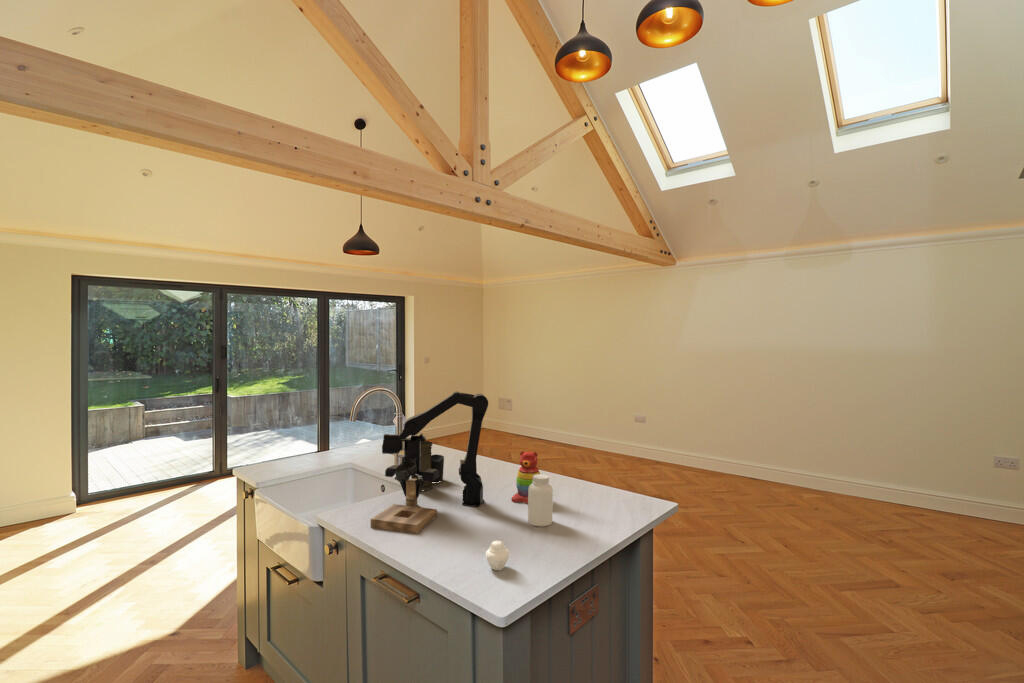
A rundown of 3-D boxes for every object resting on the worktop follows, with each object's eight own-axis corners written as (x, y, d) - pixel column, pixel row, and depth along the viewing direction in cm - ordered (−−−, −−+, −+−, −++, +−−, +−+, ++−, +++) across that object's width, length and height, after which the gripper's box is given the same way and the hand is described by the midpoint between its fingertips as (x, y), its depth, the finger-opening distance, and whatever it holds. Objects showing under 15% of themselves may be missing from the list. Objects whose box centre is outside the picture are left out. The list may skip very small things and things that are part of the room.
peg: (419, 504, 165) (419, 479, 165) (414, 508, 161) (414, 482, 161) (409, 503, 166) (409, 478, 166) (403, 506, 162) (403, 481, 163)
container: (427, 492, 178) (428, 445, 179) (406, 490, 180) (406, 444, 180) (436, 485, 187) (436, 441, 187) (415, 483, 189) (415, 439, 189)
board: (436, 516, 154) (436, 509, 154) (416, 533, 140) (416, 525, 140) (393, 511, 158) (394, 504, 158) (370, 526, 145) (370, 518, 145)
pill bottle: (554, 519, 152) (555, 474, 152) (548, 528, 145) (549, 481, 145) (531, 516, 155) (532, 471, 155) (524, 525, 147) (525, 478, 147)
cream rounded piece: (493, 576, 115) (494, 548, 115) (480, 566, 120) (481, 539, 120) (513, 569, 119) (514, 542, 119) (500, 560, 124) (500, 533, 124)
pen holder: (441, 484, 189) (442, 460, 189) (418, 484, 189) (419, 459, 189) (445, 477, 198) (445, 454, 198) (423, 477, 198) (423, 454, 198)
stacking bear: (509, 501, 169) (510, 453, 169) (519, 493, 178) (520, 447, 178) (537, 506, 165) (538, 456, 165) (546, 497, 174) (546, 450, 174)
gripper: (376, 456, 159) (376, 501, 159) (425, 460, 154) (425, 507, 154) (393, 449, 170) (393, 491, 169) (440, 453, 164) (439, 497, 164)
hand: (411, 497), depth 164 cm, fingers closed on peg, 4 cm apart
